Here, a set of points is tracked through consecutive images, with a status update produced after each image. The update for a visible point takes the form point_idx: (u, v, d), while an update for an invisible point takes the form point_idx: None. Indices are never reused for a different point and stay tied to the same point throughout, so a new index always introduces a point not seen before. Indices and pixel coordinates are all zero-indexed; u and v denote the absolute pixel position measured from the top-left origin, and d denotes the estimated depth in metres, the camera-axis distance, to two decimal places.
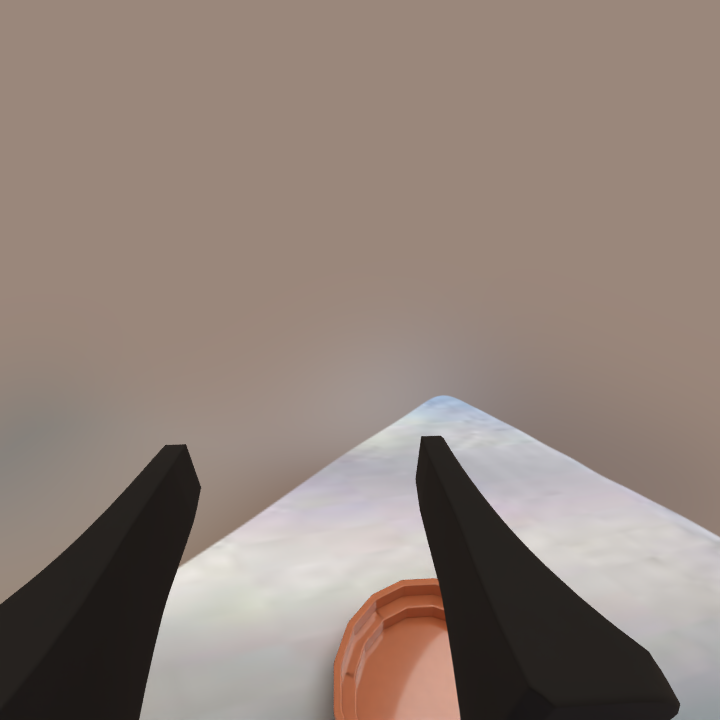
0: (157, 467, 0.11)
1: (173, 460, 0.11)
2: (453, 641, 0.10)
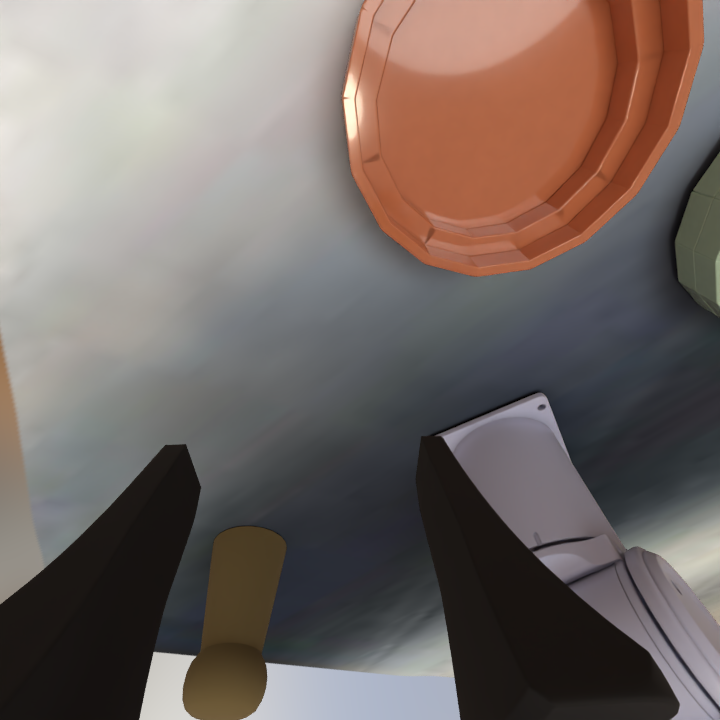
0: (157, 467, 0.11)
1: (173, 460, 0.11)
2: (453, 641, 0.10)
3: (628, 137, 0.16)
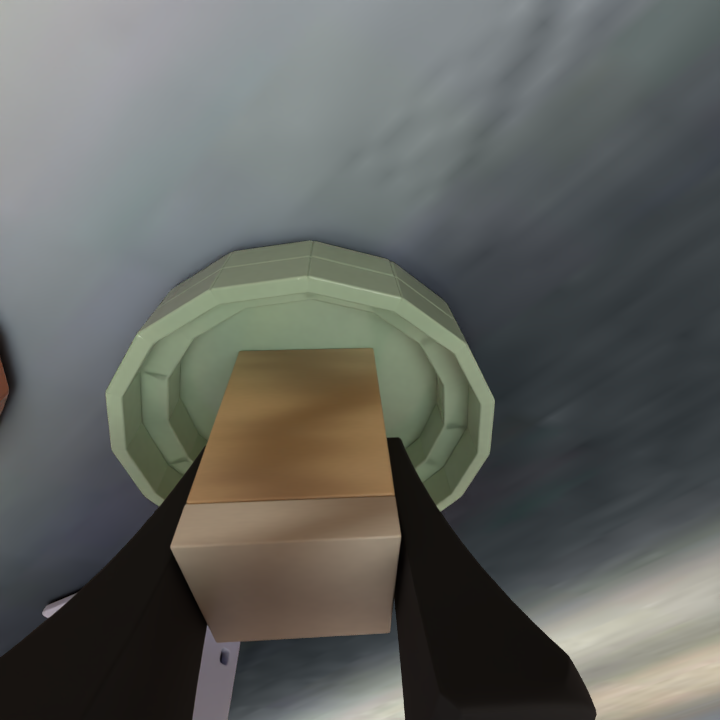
0: None
1: None
2: (400, 644, 0.10)
3: None
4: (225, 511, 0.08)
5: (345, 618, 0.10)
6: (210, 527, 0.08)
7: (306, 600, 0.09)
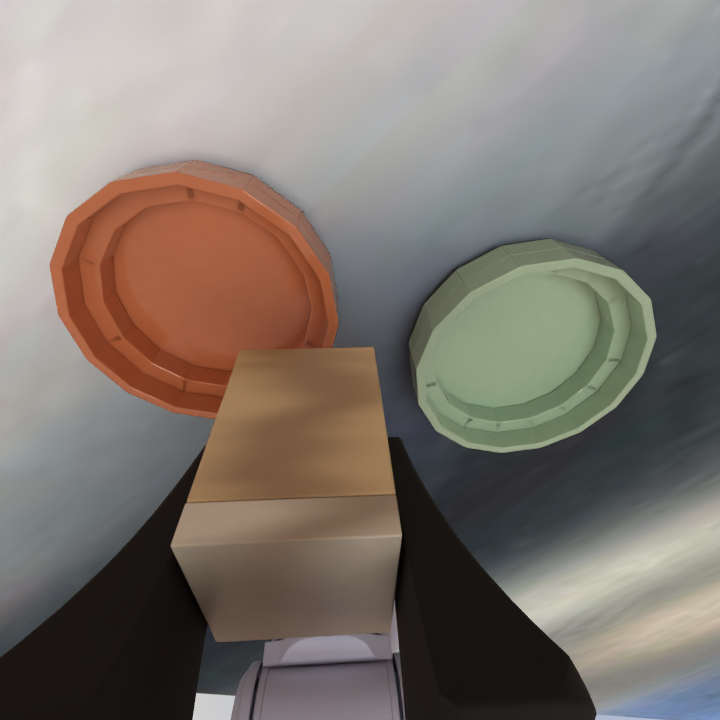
0: None
1: None
2: (400, 644, 0.10)
3: (320, 319, 0.20)
4: (225, 510, 0.08)
5: (346, 617, 0.10)
6: (210, 526, 0.08)
7: (307, 599, 0.09)
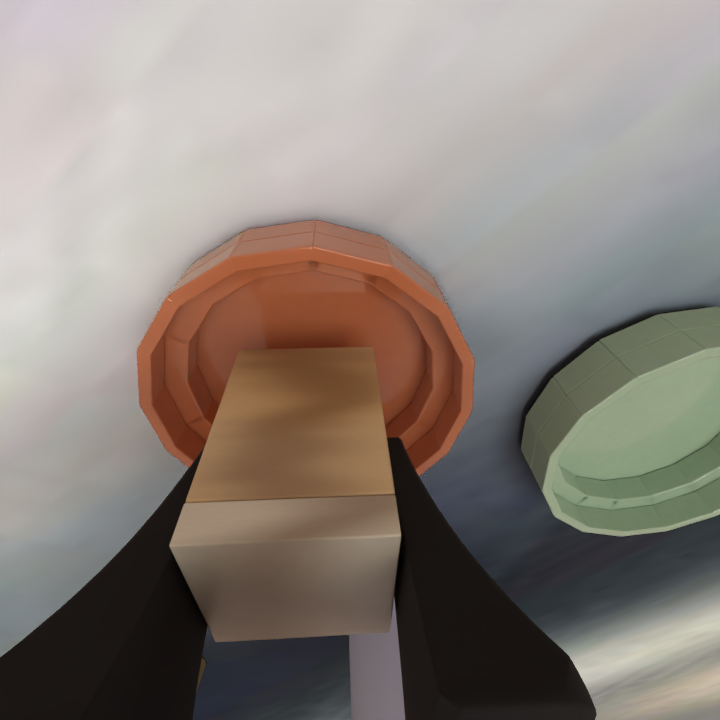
0: None
1: None
2: (400, 644, 0.10)
3: (439, 398, 0.16)
4: (224, 510, 0.08)
5: (345, 617, 0.10)
6: (209, 526, 0.08)
7: (306, 599, 0.09)
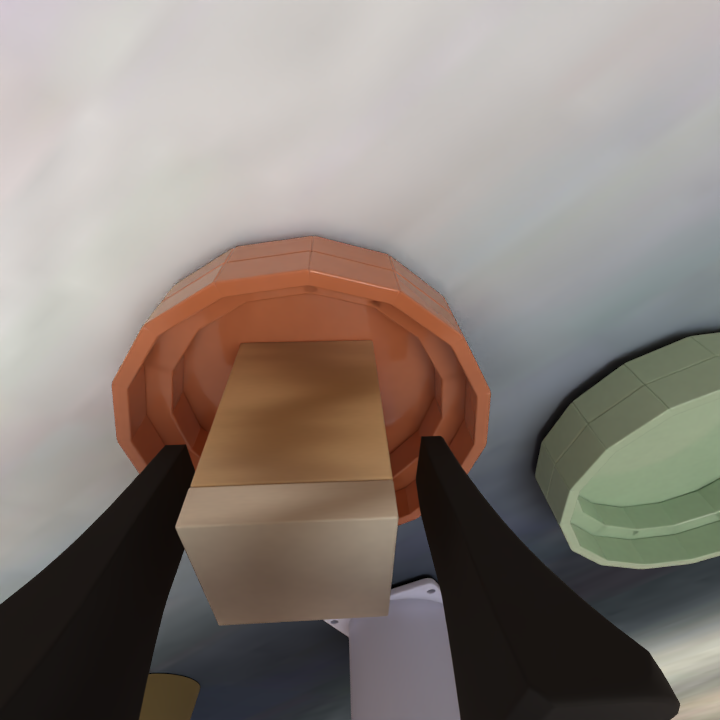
0: (157, 467, 0.11)
1: (173, 460, 0.11)
2: (453, 641, 0.10)
3: (449, 428, 0.15)
4: (228, 494, 0.09)
5: (344, 601, 0.10)
6: (214, 508, 0.08)
7: (306, 582, 0.10)
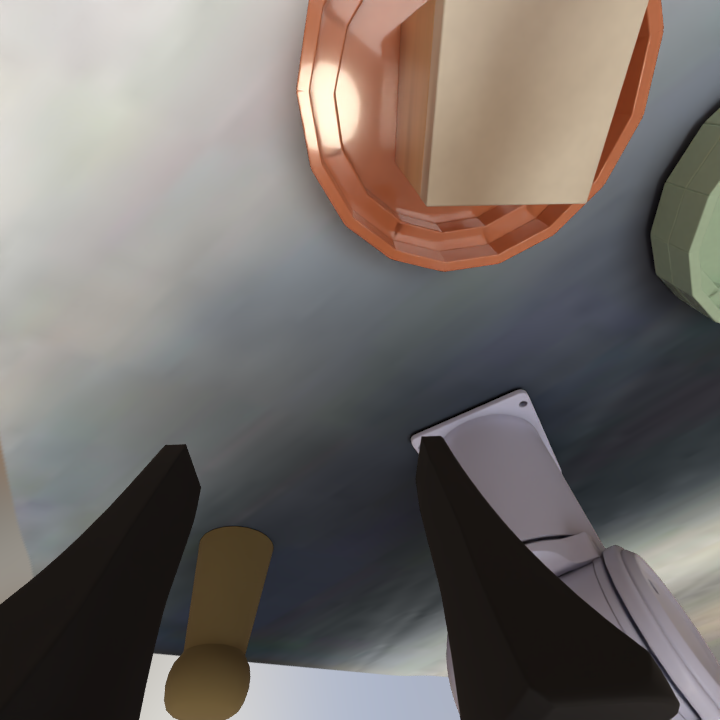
0: (157, 467, 0.11)
1: (173, 460, 0.11)
2: (453, 641, 0.10)
3: None
4: None
5: (556, 163, 0.11)
6: None
7: (533, 117, 0.10)
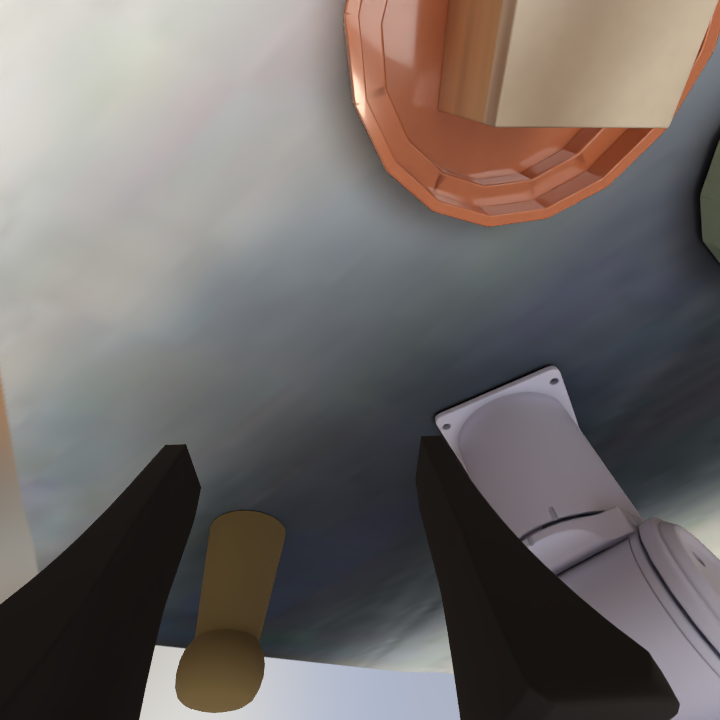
0: (157, 467, 0.11)
1: (173, 460, 0.11)
2: (453, 641, 0.10)
3: None
4: None
5: (642, 77, 0.10)
6: None
7: (622, 20, 0.09)
